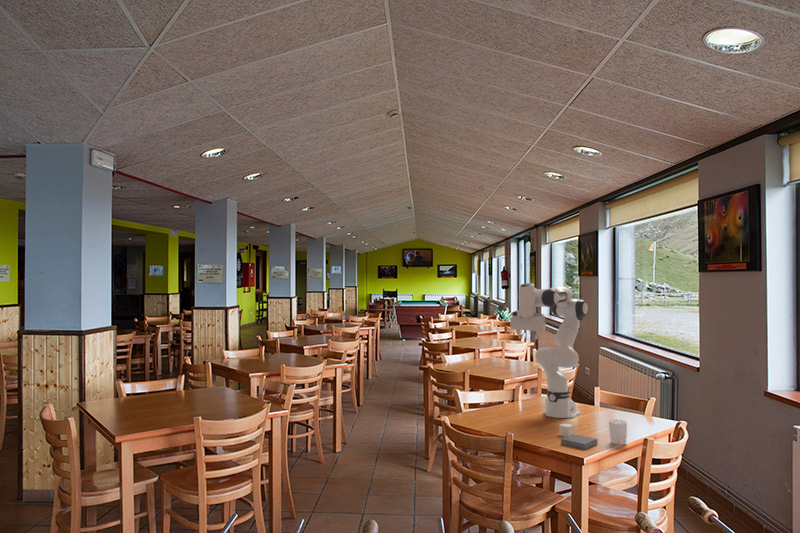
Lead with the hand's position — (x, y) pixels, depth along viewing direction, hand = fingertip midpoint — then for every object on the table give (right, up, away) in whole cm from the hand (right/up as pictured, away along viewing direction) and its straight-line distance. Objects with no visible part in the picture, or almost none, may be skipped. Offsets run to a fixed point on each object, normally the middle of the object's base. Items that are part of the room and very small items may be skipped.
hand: (528, 338), depth 279 cm
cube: (+14, -46, -21) cm, 52 cm away
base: (+15, -45, -37) cm, 60 cm away
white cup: (+34, -45, -35) cm, 66 cm away
